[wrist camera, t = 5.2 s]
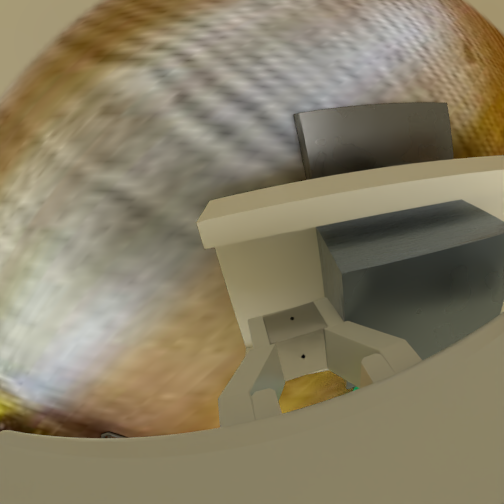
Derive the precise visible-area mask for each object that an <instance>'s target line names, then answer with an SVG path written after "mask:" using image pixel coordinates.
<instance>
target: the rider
mask: <svg viewBox="0 0 504 504" xmlns="http://www.w3.org/2000/svg"><path fill="white" fill-rule="evenodd" d="M315 228H316V234H317V241H318V248H319V256H320V263H321V271H322V279H323V287H324V296H325V297H326V298H328V300H329V301H330V302H331V304H332V305H333V307H334V308H335V310H336V311H337V312H338V314H339V315H340V317H341V318H342V320H343V321H344V322H345V321H350V322H353V323H356V324H359V325H362V326H365V327H368V328H371V329H374V330H377V331H380V332H383V333H386V334H389V335H392V336H395V337H398V338H401V339H405V340H406V341H407V342H408V344H409V345H410V346H411V347H412V348H413V350H414V351H415V352H416V353H417V354H418V356H419V357H420V358H421V359H422V360H424V359H426V358H428V357H430V356H432V355H434V354H436V353H438V352H440V351H441V350H443V349H445V348H447V347H449V346H450V345H452V344H454V343H456V342H457V341H459V340H461V339H462V338H464V337H466V336H467V335H469V334H471V333H472V332H474V331H475V330H477V329H479V328H480V327H482V326H483V325H485V324H486V323H488V322H489V321H491V320H492V319H494V318H495V317H497V316H498V315H500V313H501V309H502V306H503V302H504V221H502V220H500V219H498V218H497V217H495V216H493V215H491V214H489V213H487V212H485V211H484V210H482V209H480V208H478V207H476V206H474V205H472V204H470V203H468V202H466V201H464V200H462V199H460V200H455V201H449V202H444V203H438V204H433V205H427V206H422V207H416V208H411V209H406V210H400V211H395V212H390V213H384V214H379V215H374V216H369V217H363V218H358V219H353V220H348V221H343V222H337V223H332V224H327V225H322V226H317V227H315ZM344 382H345V386H346V389H350V388H354V387H357V386H355V385H353V384H352V383H350V382H348V381H347V380H345V379H344Z"/></svg>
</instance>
